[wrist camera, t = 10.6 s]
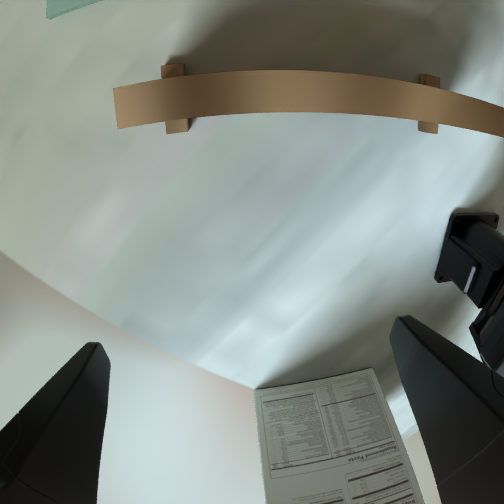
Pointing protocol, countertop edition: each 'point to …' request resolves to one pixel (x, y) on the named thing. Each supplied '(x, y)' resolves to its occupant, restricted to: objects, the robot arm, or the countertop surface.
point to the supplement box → (332, 444)
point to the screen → (298, 98)
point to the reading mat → (64, 6)
